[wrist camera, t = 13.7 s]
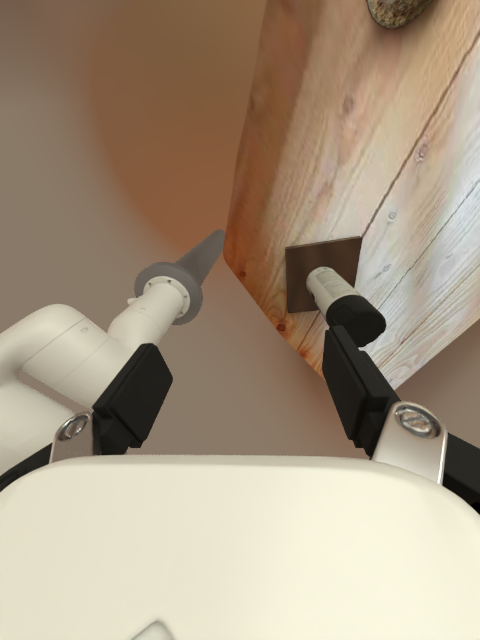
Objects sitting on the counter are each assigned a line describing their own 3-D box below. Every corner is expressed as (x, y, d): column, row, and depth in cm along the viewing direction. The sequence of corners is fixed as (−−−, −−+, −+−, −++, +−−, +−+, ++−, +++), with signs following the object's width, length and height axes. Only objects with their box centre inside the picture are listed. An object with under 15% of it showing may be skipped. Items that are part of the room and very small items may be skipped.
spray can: (299, 283, 44) (325, 336, 27) (320, 259, 41) (365, 302, 24) (320, 298, 46) (357, 356, 29) (342, 275, 43) (399, 326, 26)
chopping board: (287, 310, 50) (288, 313, 49) (285, 247, 42) (286, 248, 40) (348, 303, 48) (351, 306, 46) (359, 236, 39) (362, 237, 38)
